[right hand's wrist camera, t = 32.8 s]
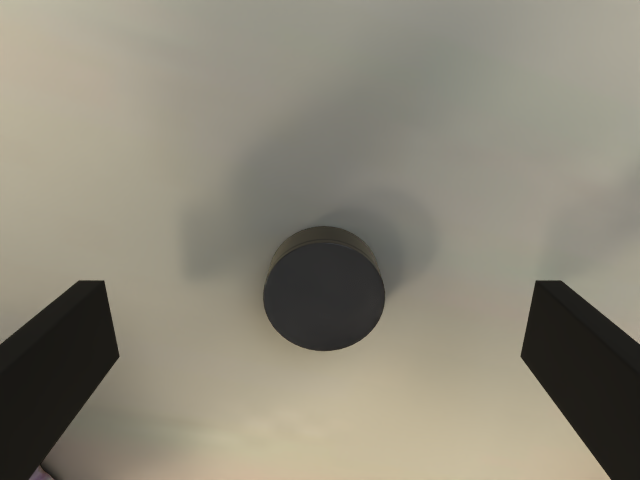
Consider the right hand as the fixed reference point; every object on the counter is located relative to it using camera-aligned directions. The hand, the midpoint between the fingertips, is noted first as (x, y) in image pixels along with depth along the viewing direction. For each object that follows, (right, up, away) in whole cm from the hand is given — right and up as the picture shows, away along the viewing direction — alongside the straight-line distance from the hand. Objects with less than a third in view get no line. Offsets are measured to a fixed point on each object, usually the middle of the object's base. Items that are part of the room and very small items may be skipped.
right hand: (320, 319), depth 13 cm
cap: (0, 0, +2) cm, 2 cm away
